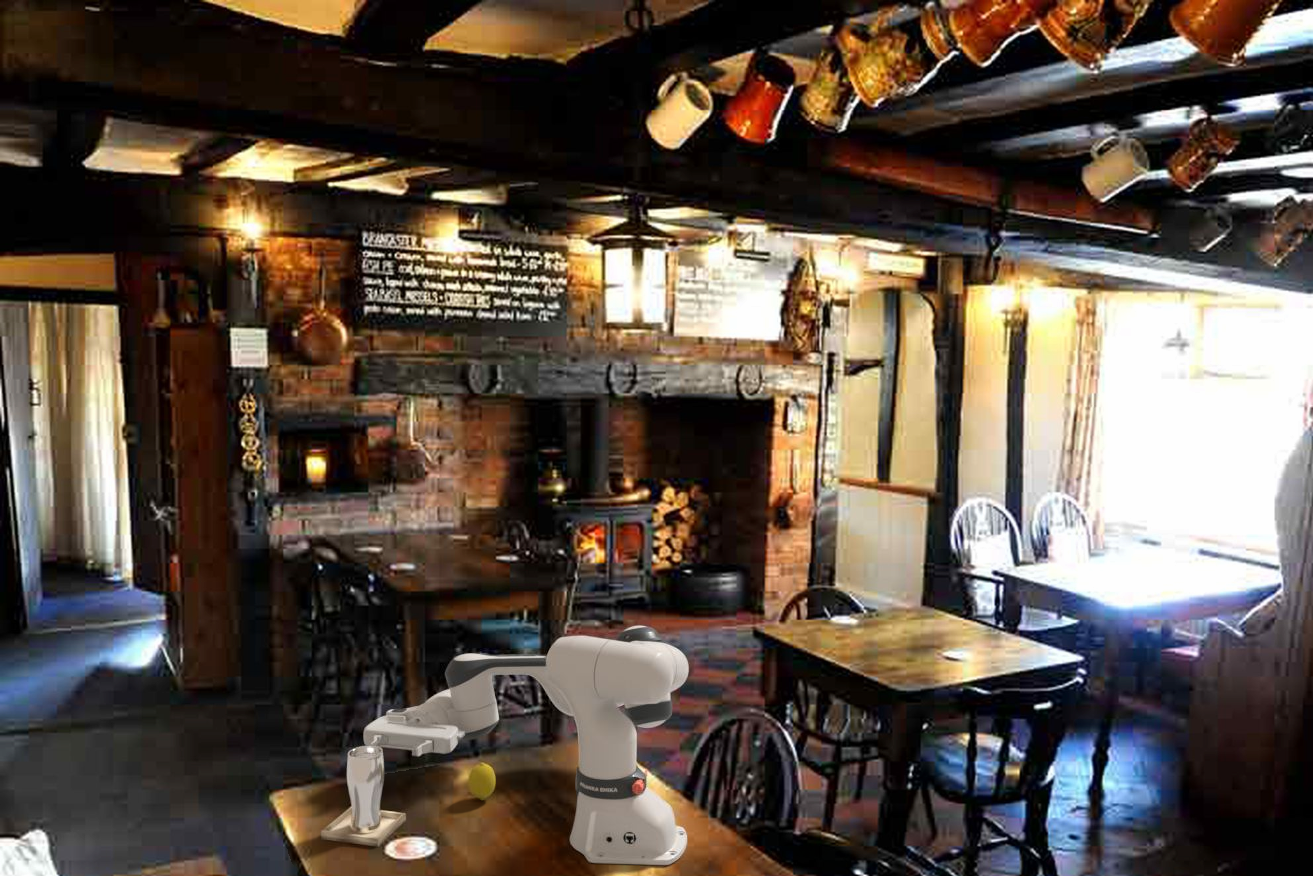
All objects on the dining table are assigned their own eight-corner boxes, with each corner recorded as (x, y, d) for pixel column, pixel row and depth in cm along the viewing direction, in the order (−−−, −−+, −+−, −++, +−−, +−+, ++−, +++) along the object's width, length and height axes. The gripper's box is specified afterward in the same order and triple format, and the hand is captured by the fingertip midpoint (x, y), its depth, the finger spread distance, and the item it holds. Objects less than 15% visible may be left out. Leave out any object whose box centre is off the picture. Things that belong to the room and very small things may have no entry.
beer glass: (373, 837, 188) (372, 760, 187) (340, 832, 190) (339, 757, 188) (391, 820, 195) (390, 746, 194) (358, 816, 196) (358, 743, 195)
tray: (405, 820, 196) (405, 813, 196) (377, 846, 186) (377, 839, 185) (351, 813, 199) (351, 806, 199) (320, 839, 188) (320, 831, 188)
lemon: (463, 802, 205) (463, 765, 204) (479, 792, 210) (479, 755, 209) (484, 808, 202) (484, 770, 202) (501, 797, 207) (501, 760, 206)
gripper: (468, 745, 215) (440, 770, 201) (383, 736, 219) (350, 760, 206) (468, 717, 214) (440, 740, 201) (382, 708, 219) (349, 730, 206)
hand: (394, 750), depth 204 cm, fingers open, 8 cm apart
